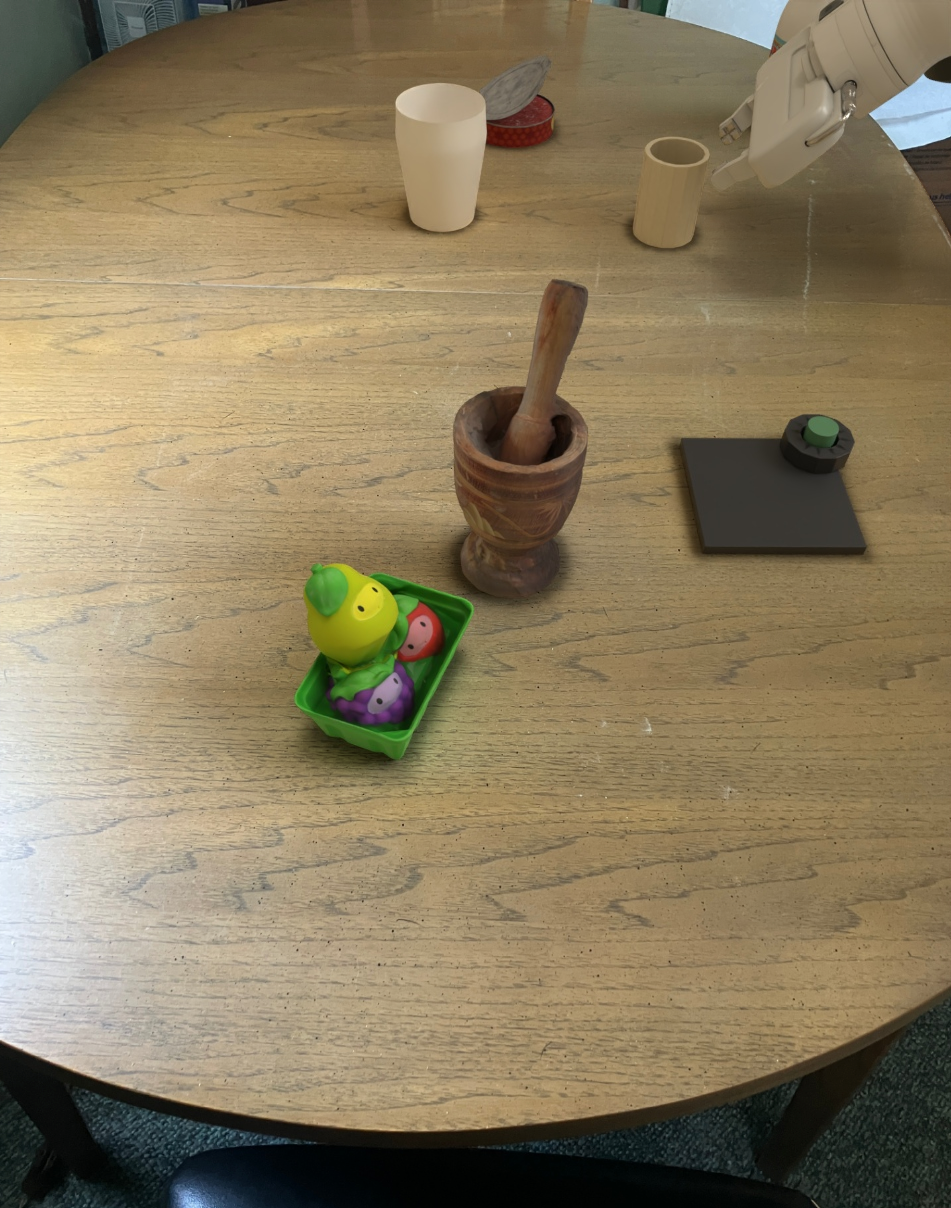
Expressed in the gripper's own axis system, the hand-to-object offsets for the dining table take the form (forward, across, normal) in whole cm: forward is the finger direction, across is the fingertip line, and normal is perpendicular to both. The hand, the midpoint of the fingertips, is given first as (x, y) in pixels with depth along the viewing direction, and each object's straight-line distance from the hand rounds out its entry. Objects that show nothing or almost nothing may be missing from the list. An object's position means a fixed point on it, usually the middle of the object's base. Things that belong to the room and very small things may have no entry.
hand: (718, 159), depth 92 cm
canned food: (+23, +18, +11) cm, 31 cm away
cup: (+25, -3, +13) cm, 29 cm away
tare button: (-4, -32, -12) cm, 35 cm away
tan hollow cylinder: (+9, 0, -3) cm, 9 cm away
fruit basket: (+17, -62, +5) cm, 65 cm away
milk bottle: (+1, +27, -12) cm, 29 cm away
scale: (0, -38, -12) cm, 39 cm away
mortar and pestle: (+13, -47, +1) cm, 49 cm away
